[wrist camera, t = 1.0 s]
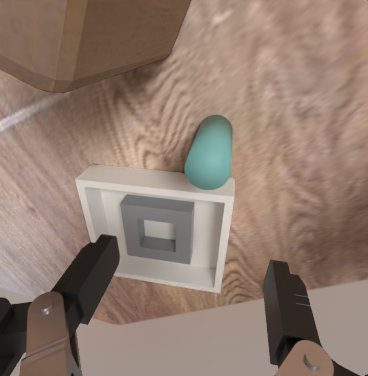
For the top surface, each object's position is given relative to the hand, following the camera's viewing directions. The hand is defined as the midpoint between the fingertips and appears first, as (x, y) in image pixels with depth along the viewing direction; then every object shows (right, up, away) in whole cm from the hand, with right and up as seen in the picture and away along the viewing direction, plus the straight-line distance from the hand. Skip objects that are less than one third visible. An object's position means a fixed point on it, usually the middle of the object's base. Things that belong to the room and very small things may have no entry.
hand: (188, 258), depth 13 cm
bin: (-4, -2, +26) cm, 26 cm away
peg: (+4, +10, +17) cm, 20 cm away
